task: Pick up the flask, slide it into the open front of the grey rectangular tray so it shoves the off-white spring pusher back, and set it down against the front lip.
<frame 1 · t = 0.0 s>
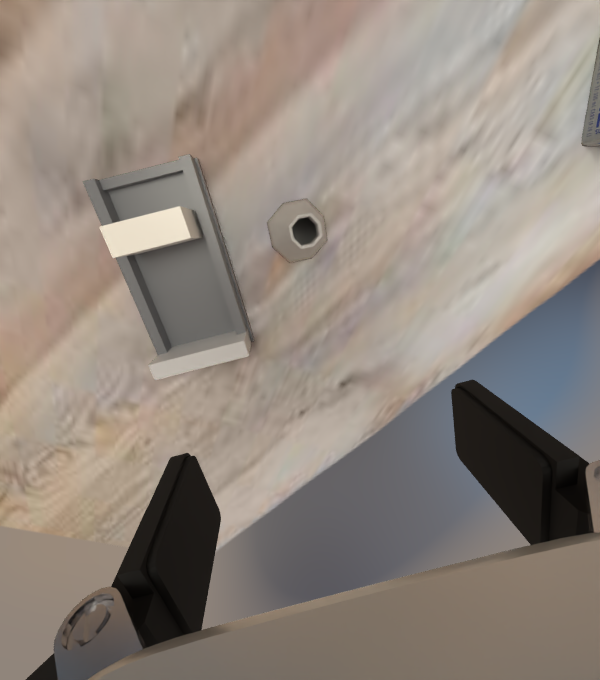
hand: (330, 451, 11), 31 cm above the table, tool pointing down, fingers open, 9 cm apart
pusher: (156, 232, 33), point 4 cm above the table, slide at 0.0 cm
flask: (297, 231, 38), on the table
grey rectangular tray: (182, 270, 38), on the table
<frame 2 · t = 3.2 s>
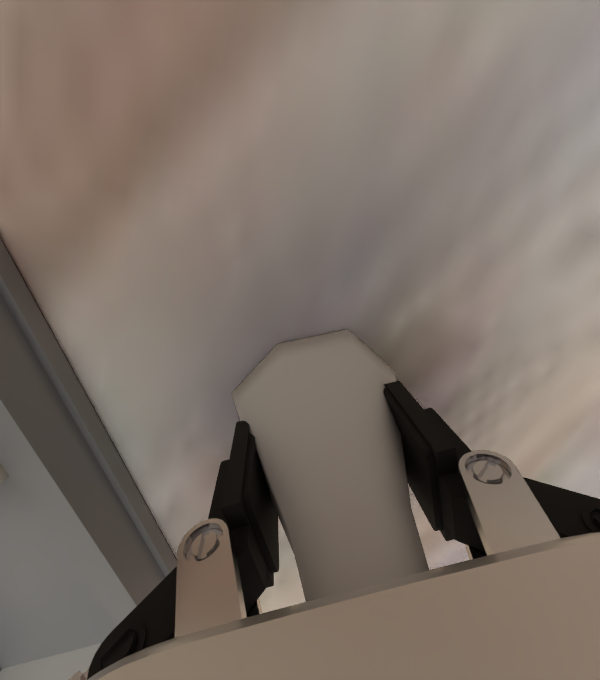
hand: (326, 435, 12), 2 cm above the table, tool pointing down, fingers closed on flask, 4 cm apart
flask: (318, 405, 14), on the table, touching gripper
grey rectangular tray: (1, 509, 14), on the table
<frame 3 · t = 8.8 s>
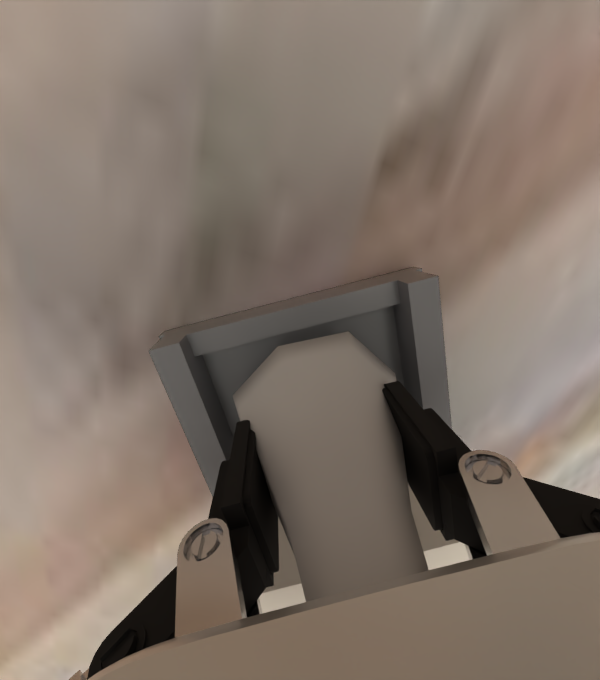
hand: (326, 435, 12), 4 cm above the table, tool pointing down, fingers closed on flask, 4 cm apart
pusher: (347, 522, 14), point 4 cm above the table, slide at 3.1 cm, touching flask
flask: (318, 407, 14), point 2 cm above the table, touching gripper, pusher
grey rectangular tray: (335, 479, 18), on the table
when the fingers open (3 cm above the table, at t = 9.5 s): flask stays where it is, resting on grey rectangular tray, pusher.
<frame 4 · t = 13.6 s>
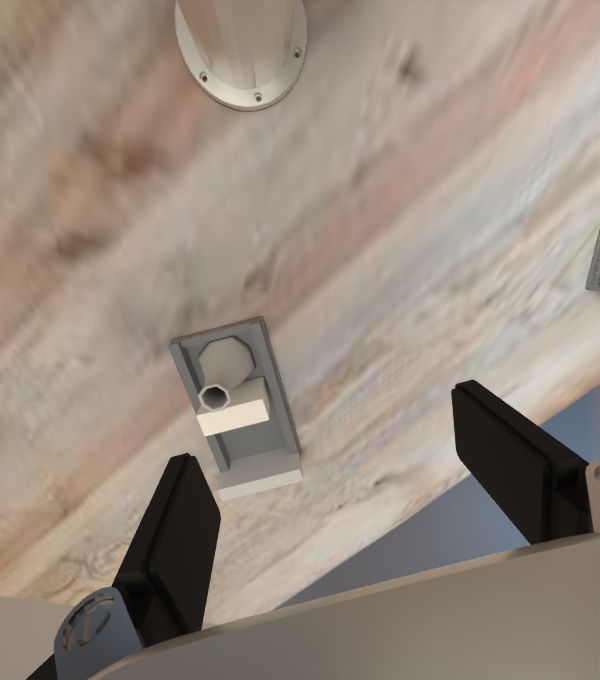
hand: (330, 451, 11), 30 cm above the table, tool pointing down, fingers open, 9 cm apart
pusher: (236, 404, 40), point 4 cm above the table, slide at 2.9 cm, touching flask
flask: (227, 359, 41), point 1 cm above the table, touching grey rectangular tray, pusher
grey rectangular tray: (242, 399, 44), on the table
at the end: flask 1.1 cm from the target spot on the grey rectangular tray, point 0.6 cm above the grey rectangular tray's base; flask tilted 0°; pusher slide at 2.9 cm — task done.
